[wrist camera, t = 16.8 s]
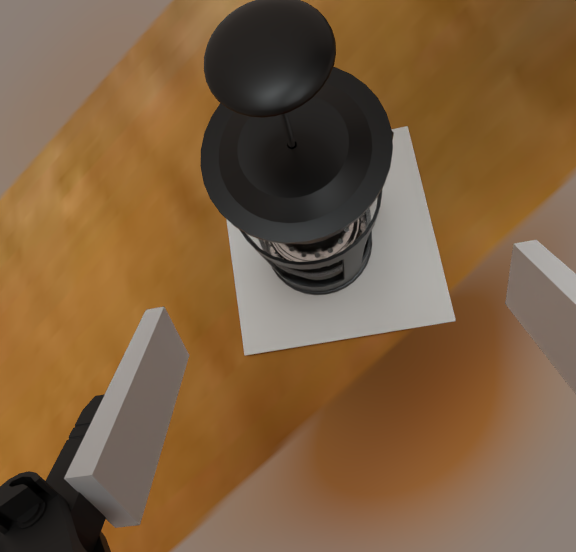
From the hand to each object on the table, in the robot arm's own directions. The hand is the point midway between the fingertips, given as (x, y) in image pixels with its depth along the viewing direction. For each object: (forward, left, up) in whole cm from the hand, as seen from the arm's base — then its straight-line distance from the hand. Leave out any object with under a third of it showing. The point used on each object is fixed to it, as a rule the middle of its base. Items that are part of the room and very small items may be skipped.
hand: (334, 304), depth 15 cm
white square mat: (0, -8, -19) cm, 21 cm away
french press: (0, -8, -18) cm, 20 cm away
